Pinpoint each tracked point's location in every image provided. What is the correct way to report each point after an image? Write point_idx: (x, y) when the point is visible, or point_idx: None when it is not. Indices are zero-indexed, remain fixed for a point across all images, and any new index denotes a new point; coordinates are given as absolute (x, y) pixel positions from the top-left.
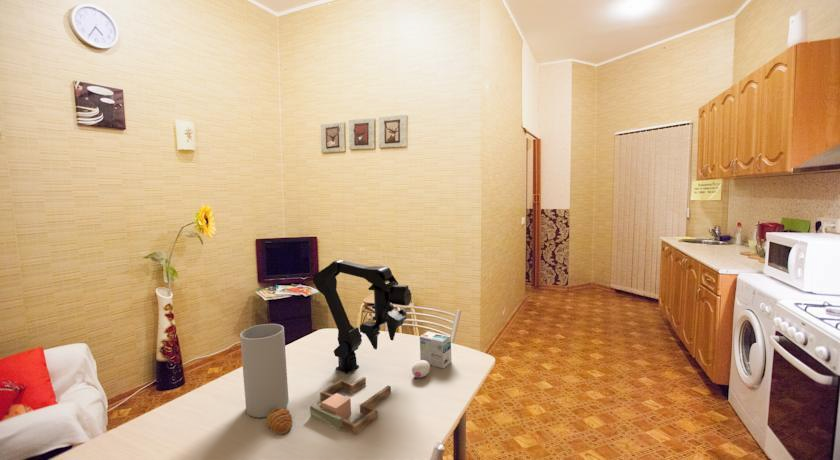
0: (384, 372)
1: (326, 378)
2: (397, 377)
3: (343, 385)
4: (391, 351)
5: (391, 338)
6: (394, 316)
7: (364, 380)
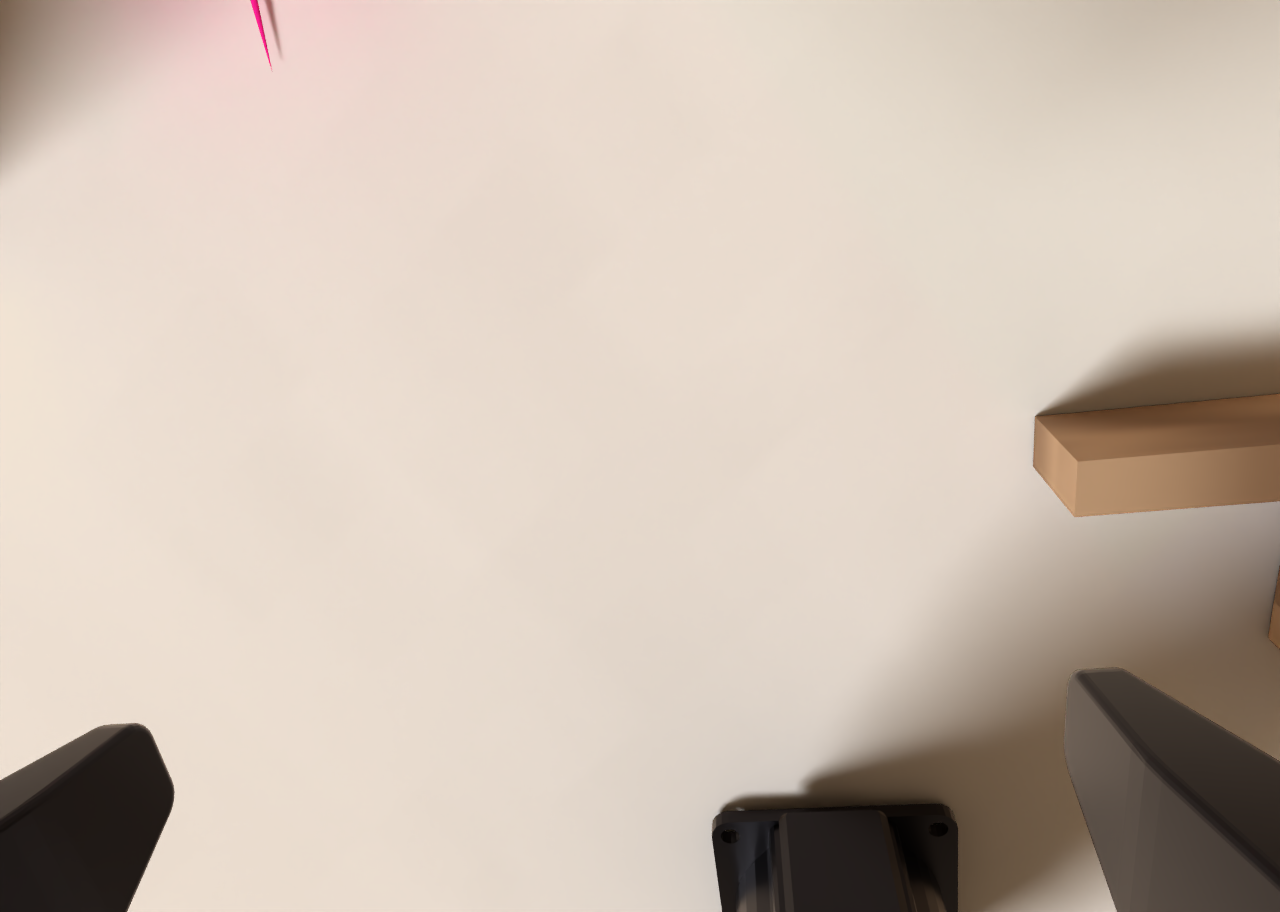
0: (585, 454)
1: None
2: (554, 168)
3: None
4: None
5: (122, 807)
6: None
7: (1095, 442)
